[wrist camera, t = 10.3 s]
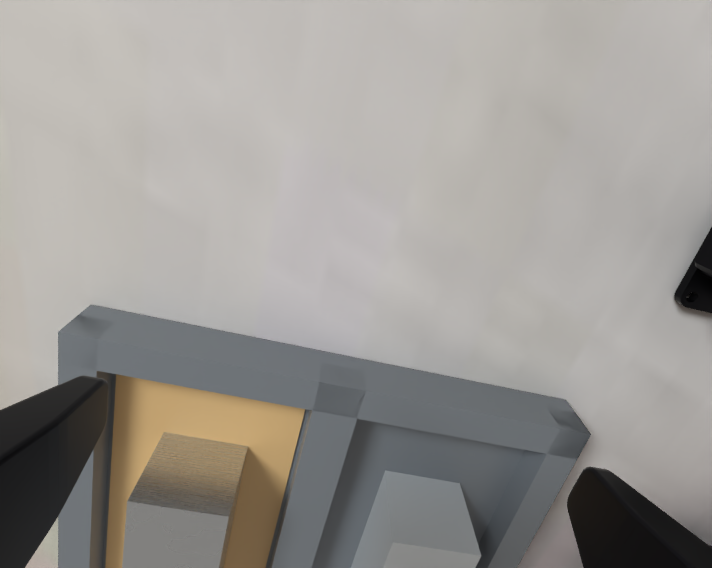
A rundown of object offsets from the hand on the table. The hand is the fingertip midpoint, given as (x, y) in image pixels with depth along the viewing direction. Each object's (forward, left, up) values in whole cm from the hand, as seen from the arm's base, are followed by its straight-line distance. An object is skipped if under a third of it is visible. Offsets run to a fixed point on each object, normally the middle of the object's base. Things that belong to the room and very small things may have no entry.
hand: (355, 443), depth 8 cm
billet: (+4, +16, -11) cm, 20 cm away
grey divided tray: (-1, +16, -12) cm, 20 cm away
